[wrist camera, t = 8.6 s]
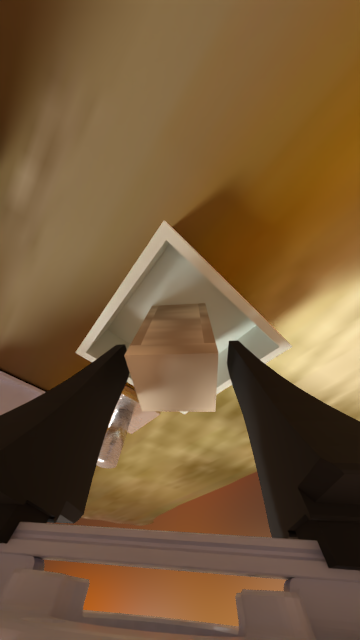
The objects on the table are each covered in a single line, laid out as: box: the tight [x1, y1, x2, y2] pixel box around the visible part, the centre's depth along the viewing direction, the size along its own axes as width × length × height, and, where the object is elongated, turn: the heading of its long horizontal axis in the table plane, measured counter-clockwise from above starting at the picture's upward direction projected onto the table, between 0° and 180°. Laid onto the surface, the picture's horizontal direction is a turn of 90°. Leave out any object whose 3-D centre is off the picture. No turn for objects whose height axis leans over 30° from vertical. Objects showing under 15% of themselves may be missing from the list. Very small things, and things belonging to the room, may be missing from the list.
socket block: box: [124, 303, 218, 412], centre depth 11 cm, size 5×5×6 cm
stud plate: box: [96, 385, 161, 468], centre depth 18 cm, size 7×7×6 cm
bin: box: [75, 221, 292, 414], centre depth 13 cm, size 11×11×4 cm
